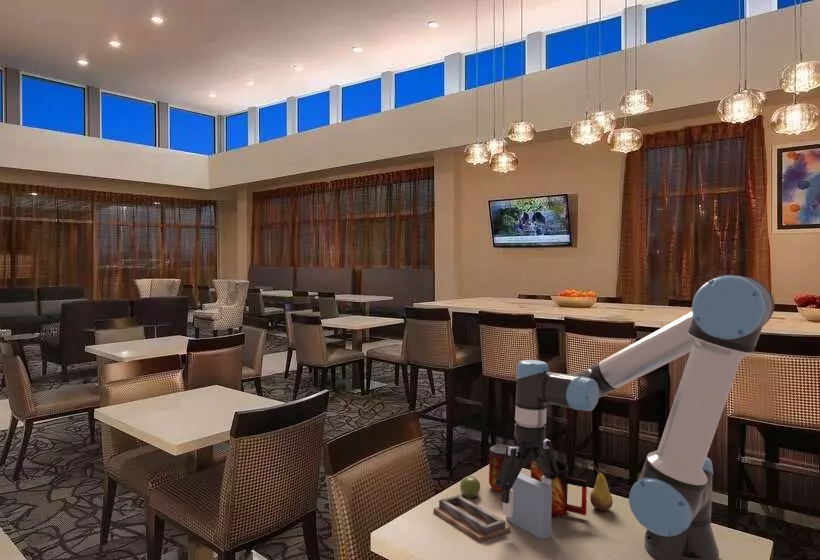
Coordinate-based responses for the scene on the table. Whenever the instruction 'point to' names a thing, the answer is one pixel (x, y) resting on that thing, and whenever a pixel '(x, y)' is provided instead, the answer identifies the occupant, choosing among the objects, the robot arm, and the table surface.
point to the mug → (562, 490)
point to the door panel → (532, 506)
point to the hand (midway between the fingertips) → (527, 509)
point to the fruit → (601, 493)
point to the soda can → (496, 464)
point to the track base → (471, 518)
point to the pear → (470, 486)
